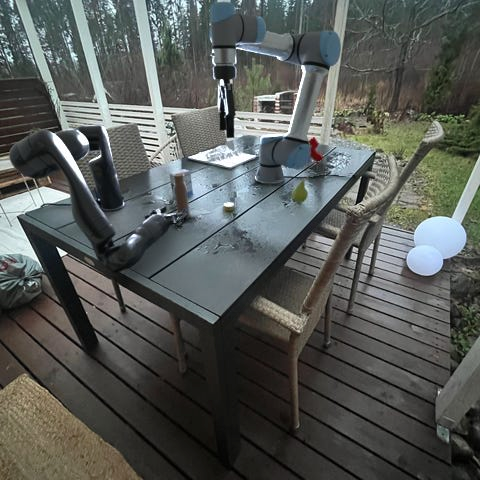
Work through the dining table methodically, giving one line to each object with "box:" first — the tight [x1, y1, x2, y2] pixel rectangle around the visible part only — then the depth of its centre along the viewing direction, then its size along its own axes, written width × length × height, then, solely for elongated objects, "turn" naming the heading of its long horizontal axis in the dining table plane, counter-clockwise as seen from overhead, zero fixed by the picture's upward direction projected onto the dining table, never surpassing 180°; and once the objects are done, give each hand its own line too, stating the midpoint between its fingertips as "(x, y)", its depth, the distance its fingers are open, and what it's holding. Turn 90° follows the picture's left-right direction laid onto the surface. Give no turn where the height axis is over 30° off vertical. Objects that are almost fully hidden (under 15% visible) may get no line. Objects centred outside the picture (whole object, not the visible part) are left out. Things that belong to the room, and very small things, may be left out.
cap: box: [223, 201, 235, 212], centre depth 116 cm, size 4×4×2 cm
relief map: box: [188, 144, 257, 170], centre depth 178 cm, size 27×35×5 cm
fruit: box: [291, 174, 311, 204], centre depth 118 cm, size 7×8×12 cm
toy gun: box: [308, 136, 324, 164], centre depth 170 cm, size 18×4×15 cm
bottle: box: [174, 173, 191, 220], centre depth 106 cm, size 5×5×18 cm
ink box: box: [168, 168, 194, 200], centre depth 124 cm, size 8×5×12 cm, turn 135°
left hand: (175, 209), depth 103 cm, fingers open, 8 cm apart
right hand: (226, 133), depth 100 cm, fingers open, 13 cm apart
